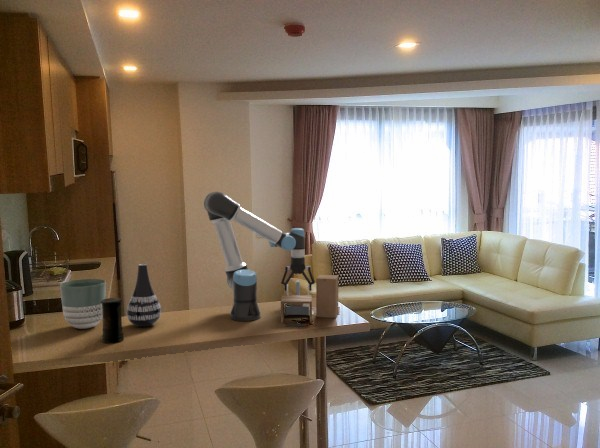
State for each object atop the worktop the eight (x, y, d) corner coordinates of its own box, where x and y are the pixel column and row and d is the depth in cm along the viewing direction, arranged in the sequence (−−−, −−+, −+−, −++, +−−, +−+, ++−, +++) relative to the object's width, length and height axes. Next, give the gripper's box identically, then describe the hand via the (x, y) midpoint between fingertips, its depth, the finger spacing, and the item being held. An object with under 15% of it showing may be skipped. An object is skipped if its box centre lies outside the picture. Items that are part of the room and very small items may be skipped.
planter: (116, 323, 251) (114, 280, 249) (87, 335, 232) (85, 288, 230) (83, 320, 257) (81, 277, 255) (52, 331, 238) (50, 285, 237)
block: (303, 315, 265) (303, 300, 265) (291, 315, 265) (291, 300, 265) (303, 312, 271) (303, 298, 271) (291, 312, 271) (291, 298, 271)
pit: (306, 326, 244) (306, 326, 244) (285, 326, 244) (285, 326, 244) (306, 323, 249) (306, 323, 249) (286, 323, 249) (286, 323, 249)
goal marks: (313, 314, 265) (313, 314, 265) (280, 314, 265) (280, 314, 265) (313, 310, 273) (313, 310, 273) (281, 310, 273) (281, 310, 273)
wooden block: (335, 318, 258) (335, 278, 256) (316, 317, 260) (316, 278, 258) (338, 313, 268) (338, 275, 266) (319, 312, 270) (319, 274, 268)
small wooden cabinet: (308, 315, 263) (308, 289, 261) (285, 315, 263) (285, 289, 262) (309, 304, 285) (308, 280, 284) (287, 304, 286) (287, 280, 285)
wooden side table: (311, 322, 250) (311, 301, 249) (280, 322, 250) (280, 301, 250) (311, 315, 264) (311, 295, 263) (282, 315, 264) (282, 295, 264)
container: (105, 337, 228) (103, 297, 226) (125, 337, 229) (124, 297, 227) (98, 344, 219) (97, 302, 218) (120, 343, 220) (119, 301, 218)
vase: (168, 323, 251) (166, 263, 248) (146, 332, 236) (143, 268, 234) (143, 319, 257) (141, 261, 255) (119, 328, 243) (117, 266, 241)
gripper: (275, 257, 277) (276, 298, 279) (319, 257, 277) (319, 298, 279) (276, 255, 285) (277, 295, 287) (319, 255, 284) (319, 295, 286)
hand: (298, 296), depth 283 cm, fingers open, 11 cm apart
